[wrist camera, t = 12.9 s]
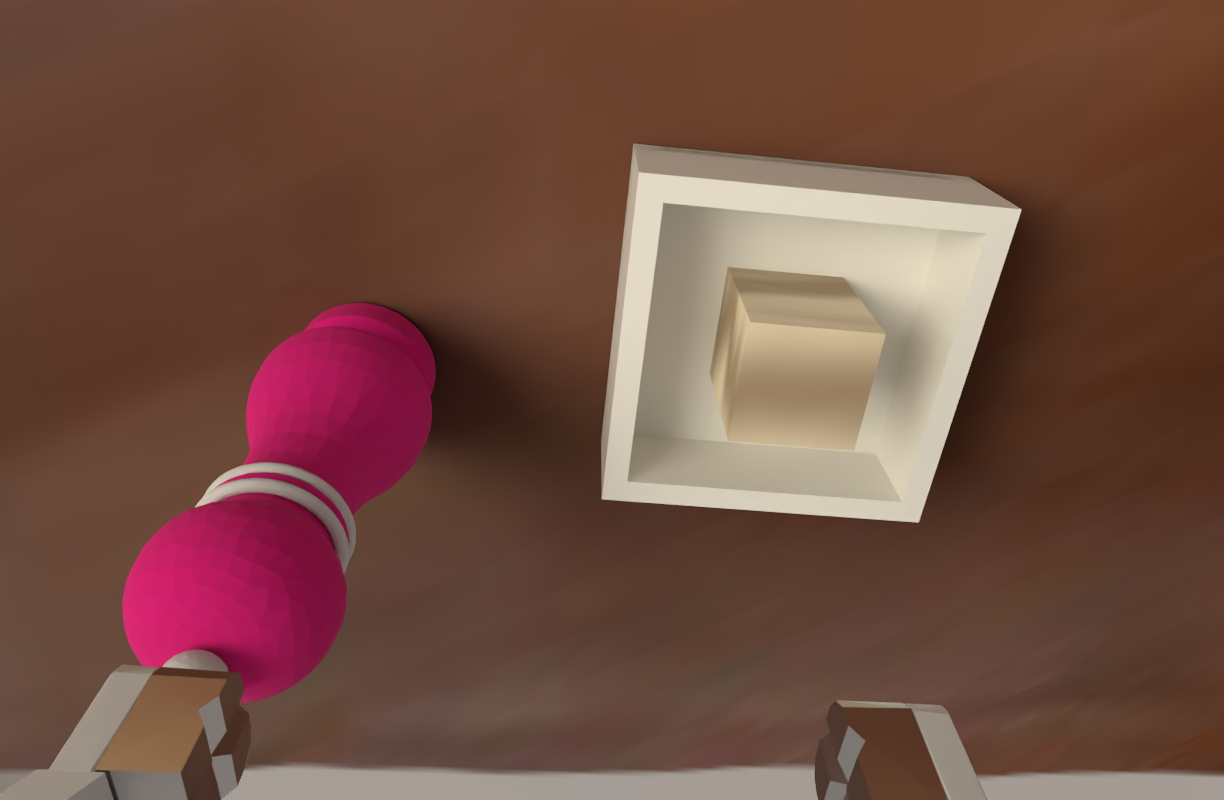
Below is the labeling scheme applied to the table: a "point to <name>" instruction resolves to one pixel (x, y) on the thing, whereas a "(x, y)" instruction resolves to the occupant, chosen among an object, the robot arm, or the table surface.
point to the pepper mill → (286, 506)
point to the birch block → (793, 359)
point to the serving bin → (807, 244)
